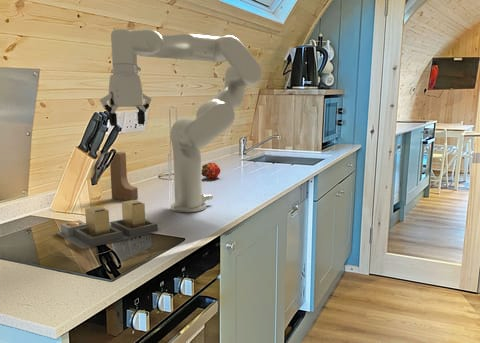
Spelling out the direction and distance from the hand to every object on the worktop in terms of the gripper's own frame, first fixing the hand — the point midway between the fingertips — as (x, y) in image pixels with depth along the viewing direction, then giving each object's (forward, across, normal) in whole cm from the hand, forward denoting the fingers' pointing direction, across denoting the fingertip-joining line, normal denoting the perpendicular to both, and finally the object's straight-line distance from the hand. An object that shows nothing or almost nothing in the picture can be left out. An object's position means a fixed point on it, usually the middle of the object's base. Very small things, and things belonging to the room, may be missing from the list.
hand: (127, 125), depth 147 cm
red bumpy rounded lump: (+31, -60, -34) cm, 75 cm away
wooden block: (+31, -10, -24) cm, 40 cm away
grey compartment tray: (+30, +15, +15) cm, 37 cm away
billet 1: (+29, +20, +18) cm, 39 cm away
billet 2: (+29, +9, +18) cm, 35 cm away
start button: (+29, +23, +9) cm, 38 cm away
